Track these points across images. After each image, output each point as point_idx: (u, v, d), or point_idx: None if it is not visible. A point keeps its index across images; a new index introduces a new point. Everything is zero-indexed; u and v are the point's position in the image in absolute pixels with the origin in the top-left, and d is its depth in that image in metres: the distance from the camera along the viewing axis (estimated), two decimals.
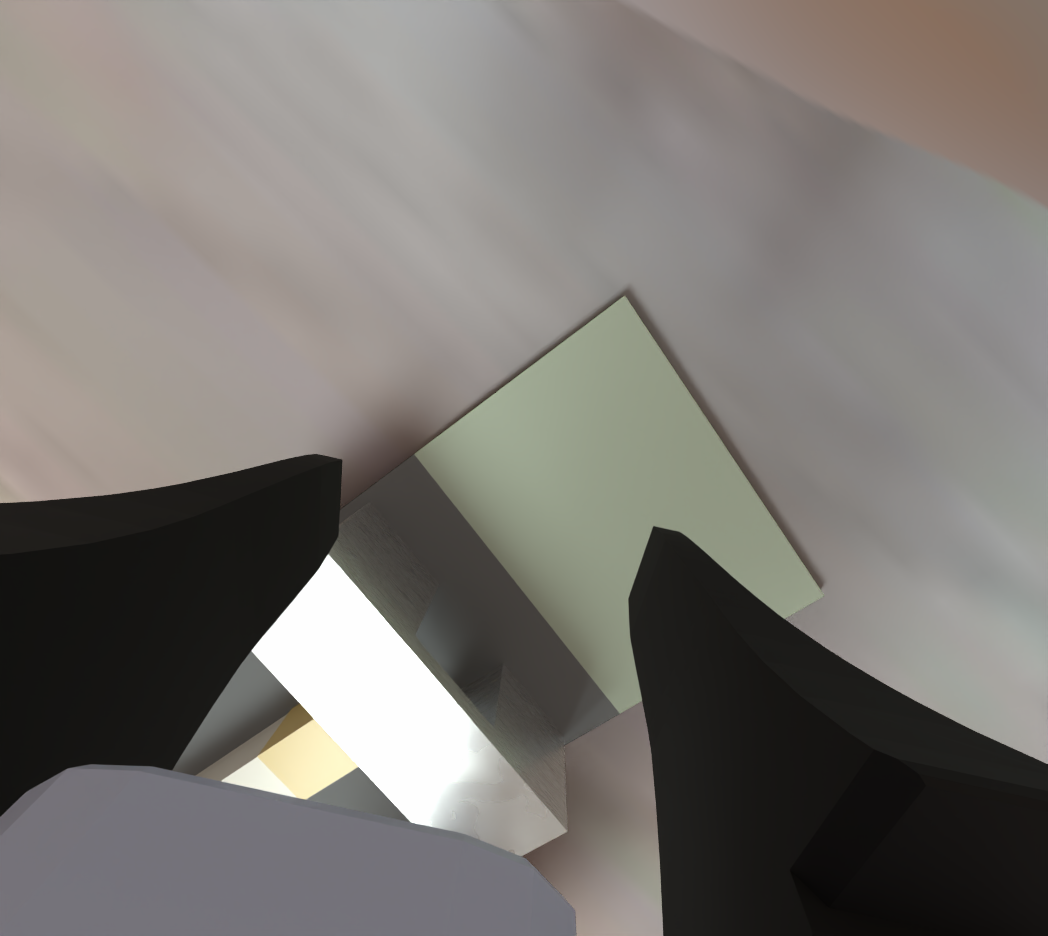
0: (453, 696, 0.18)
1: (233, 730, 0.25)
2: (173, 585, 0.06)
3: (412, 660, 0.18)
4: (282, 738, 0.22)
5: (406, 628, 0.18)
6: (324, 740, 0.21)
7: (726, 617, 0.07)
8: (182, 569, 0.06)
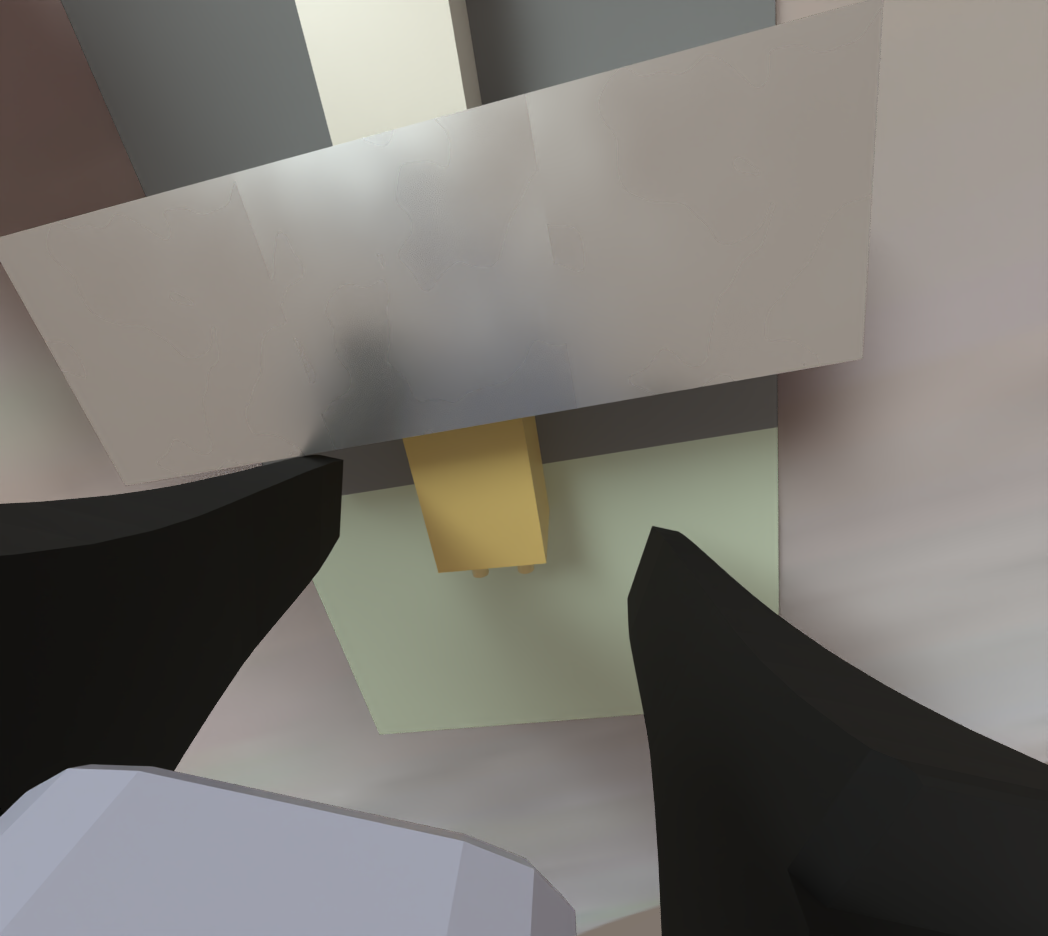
0: (447, 429, 0.10)
1: None
2: (175, 585, 0.06)
3: (550, 400, 0.09)
4: (529, 458, 0.12)
5: None
6: (496, 522, 0.13)
7: (724, 617, 0.07)
8: (184, 569, 0.06)
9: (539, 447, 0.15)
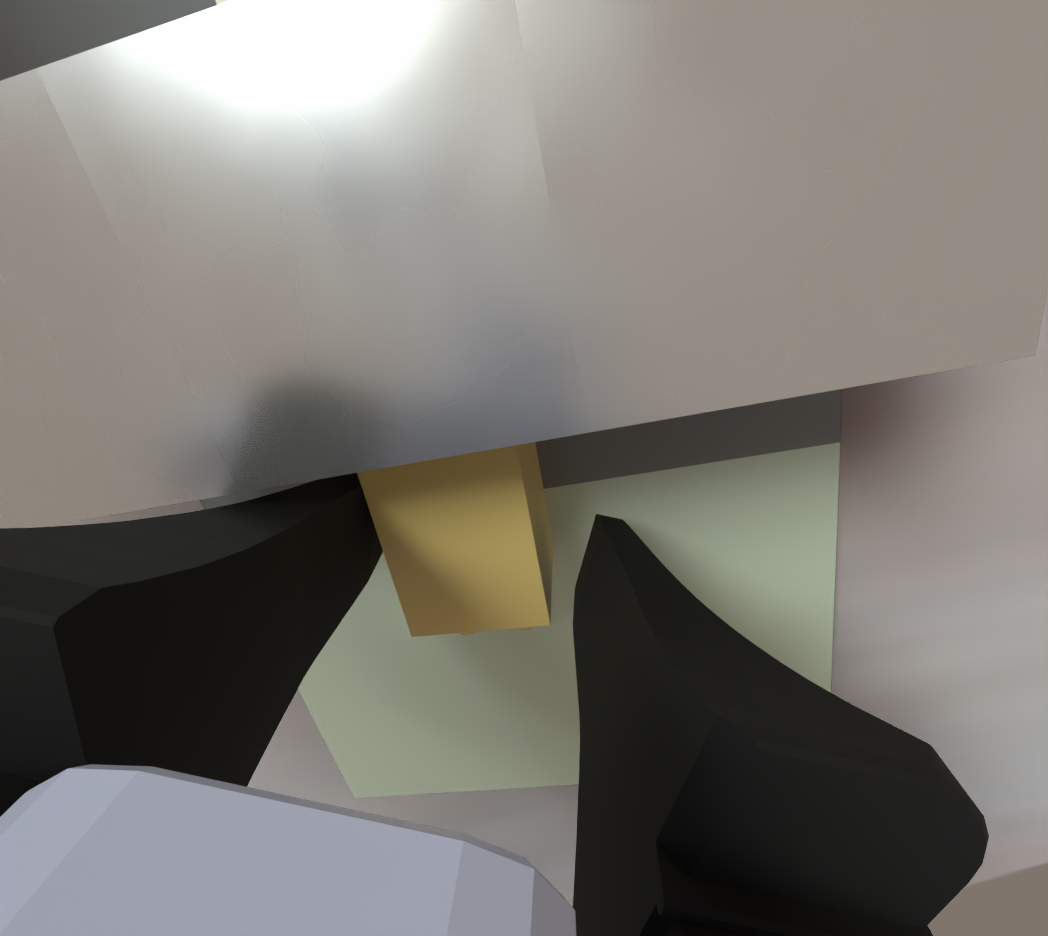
0: (398, 462, 0.07)
1: None
2: (258, 603, 0.06)
3: (548, 420, 0.06)
4: (526, 492, 0.09)
5: None
6: (484, 574, 0.10)
7: (637, 598, 0.07)
8: (265, 587, 0.06)
9: (539, 469, 0.12)
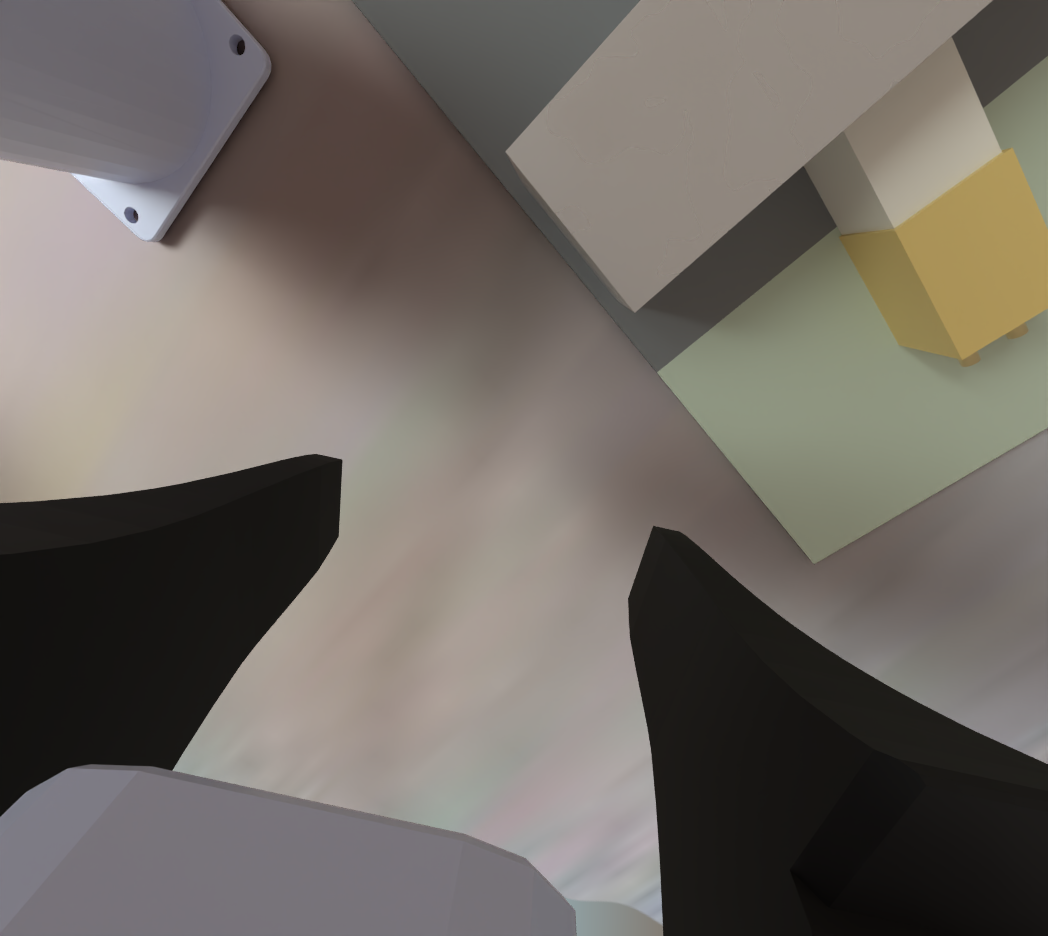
0: (906, 74, 0.11)
1: None
2: (173, 585, 0.06)
3: None
4: (1030, 199, 0.13)
5: None
6: (1012, 277, 0.13)
7: (726, 617, 0.07)
8: (182, 569, 0.06)
9: None
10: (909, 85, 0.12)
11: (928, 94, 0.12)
